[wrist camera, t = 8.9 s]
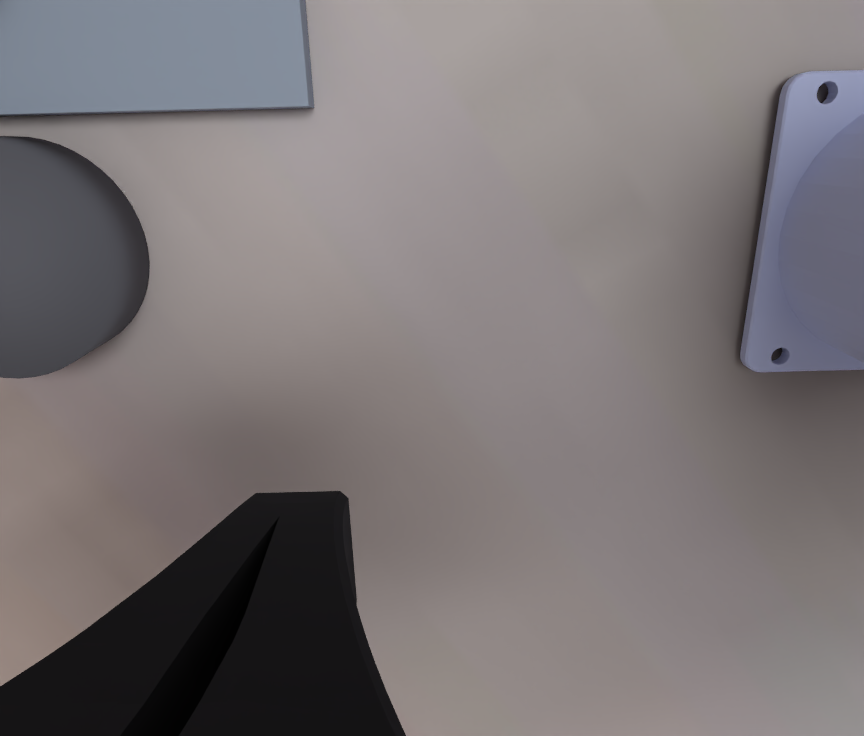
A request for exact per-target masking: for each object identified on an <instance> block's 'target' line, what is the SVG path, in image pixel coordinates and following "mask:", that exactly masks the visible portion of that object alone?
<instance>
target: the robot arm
mask: <svg viewBox="0 0 864 736" xmlns="http://www.w3.org/2000/svg"><path fill="white" fill-rule="evenodd" d="M823 83H824V84H826V86H827V87H828V96H827V98H826V100H825V101H824V102H823V103H820V102H819V101H818V99H817V91H818V88H819V87H820V86H821V85H822V84H823ZM778 348H782V354H781V356H780V357H779V358H777V359H776V360H771V356H772V354H773V352H774V351H775V350H776V349H778ZM740 359H741V361H742V363H743V365H745V366H746V367H748V368H749V369H751V370H752V371H755V372H791V371H830V370H864V70H845V71H810V72H804V73H800V74H796V75H794V76H792V77H791V78H790V79H788V80H787V82H786V83H785V84H784V86H783V87H782V90H781V93H780V98H779V105H778V111H777V118H776V124H775V131H774V137H773V144H772V150H771V157H770V163H769V170H768V176H767V183H766V189H765V196H764V202H763V209H762V215H761V222H760V228H759V235H758V241H757V248H756V254H755V260H754V267H753V273H752V280H751V286H750V293H749V299H748V306H747V312H746V319H745V325H744V332H743V338H742V345H741V351H740ZM356 603H357V598H356V585H355V573H354V561H353V549H352V537H351V525H350V513H349V501H348V498H347V497H346V496H345V495H344V494H343V493H342V492H341V491H326V492H285V493H256V494H254V495H253V496H252V497H250V498H249V499H248V500H247V501H245V502H244V503H243V504H242V505H240V506H239V507H238V508H237V509H236V510H234V511H233V512H232V513H231V514H230V515H228V516H227V517H226V518H225V519H224V520H223V521H221V522H220V523H219V524H218V525H217V526H216V527H214V528H213V529H212V530H211V531H210V532H209V533H207V534H206V535H205V536H204V537H203V538H201V539H200V540H199V541H198V542H197V543H195V544H194V545H193V546H192V547H191V548H189V549H188V550H187V551H186V552H185V553H183V554H182V555H181V556H180V557H179V558H177V559H176V560H175V561H174V562H173V563H171V564H170V565H169V566H168V567H167V568H165V569H164V570H163V571H162V572H160V573H159V574H158V575H157V576H156V577H154V578H153V579H152V580H150V581H149V582H148V583H146V584H145V585H144V586H142V587H141V588H140V589H138V590H137V591H136V592H134V593H133V594H132V595H131V596H129V597H128V598H127V599H125V600H124V601H123V602H121V603H120V604H119V605H117V606H116V607H115V608H113V609H112V610H111V611H109V612H108V613H107V614H105V615H104V616H103V617H102V618H100V619H99V620H98V621H96V622H95V623H94V624H92V625H91V626H90V627H88V628H87V629H86V630H84V631H83V632H81V633H80V634H79V635H77V636H76V637H74V638H73V639H71V640H70V641H69V642H67V643H66V644H64V645H63V646H61V647H60V648H58V649H57V650H55V651H54V652H53V653H51V654H50V655H48V656H47V657H45V658H44V659H42V660H41V661H39V662H38V663H36V664H35V665H33V666H31V667H30V668H28V669H27V670H25V671H24V672H22V673H21V674H19V675H17V676H16V677H14V678H13V679H11V680H10V681H8V682H7V683H5V684H4V685H2V686H0V736H406V735H405V733H404V730H403V728H402V726H401V724H400V722H399V719H398V717H397V715H396V712H395V710H394V708H393V705H392V703H391V701H390V699H389V696H388V694H387V692H386V689H385V687H384V684H383V682H382V679H381V676H380V674H379V671H378V669H377V666H376V664H375V661H374V658H373V656H372V653H371V650H370V647H369V644H368V641H367V638H366V635H365V632H364V629H363V626H362V622H361V619H360V616H359V612H358V609H357V606H356Z"/></svg>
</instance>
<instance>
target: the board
mask: <svg viewBox="0 0 864 736" xmlns="http://www.w3.org/2000/svg"><path fill="white" fill-rule="evenodd" d="M290 108H314V99H313V87H312V75H311V63H310V51H309V39H308V27H307V15H306V3H305V0H0V116H30V115H67V114H104V113H141V112H179V111H216V110H253V109H290Z"/></svg>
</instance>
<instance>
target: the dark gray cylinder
mask: <svg viewBox="0 0 864 736" xmlns="http://www.w3.org/2000/svg"><path fill="white" fill-rule="evenodd" d="M148 278H149V256H148V247H147V243H146V239H145V235H144V232H143V229H142V227H141V224H140V222H139V219H138V217H137V215H136V213H135V211H134V209H133V208H132V206H131V204H130V203H129V201H128V200H127V198H126V197H125V195H124V194H123V192H122V191H121V190H120V189H119V188H118V186H117V185H116V184H115V183H114V182H113V181H112V180H111V179H110V178H109V177H108V176H107V175H106V174H105V173H104V172H103V171H102V170H101V169H100V168H98V167H97V166H96V165H94V164H93V163H92V162H90V161H89V160H88V159H86V158H84V157H83V156H81V155H79V154H78V153H76V152H74V151H72V150H70V149H68V148H66V147H63V146H61V145H59V144H56V143H52V142H49V141H46V140H42V139H36V138H31V137H14V136H0V377H3V378H28V377H36V376H41V375H45V374H49V373H52V372H54V371H57V370H60V369H62V368H64V367H65V366H67V365H69V364H71V363H73V362H74V361H76V360H78V359H79V358H81V357H82V356H84V355H86V354H87V353H89V352H90V351H92V350H94V349H95V348H97V347H99V346H100V345H102V344H103V343H105V342H107V341H108V340H110V339H111V338H113V337H114V336H116V335H117V334H118V333H120V332H121V331H122V330H123V329H124V328H125V327H126V326H127V325H128V324H129V323H130V322H131V321H132V319H133V318H134V316H135V315H136V313H137V312H138V310H139V308H140V306H141V304H142V302H143V299H144V296H145V293H146V290H147V285H148Z"/></svg>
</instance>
